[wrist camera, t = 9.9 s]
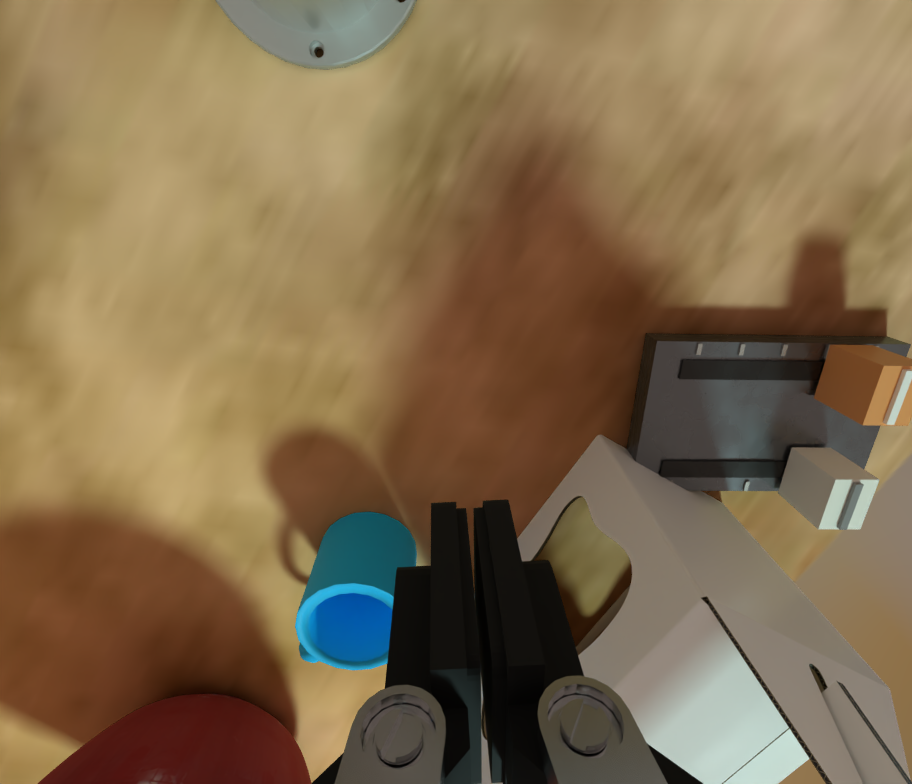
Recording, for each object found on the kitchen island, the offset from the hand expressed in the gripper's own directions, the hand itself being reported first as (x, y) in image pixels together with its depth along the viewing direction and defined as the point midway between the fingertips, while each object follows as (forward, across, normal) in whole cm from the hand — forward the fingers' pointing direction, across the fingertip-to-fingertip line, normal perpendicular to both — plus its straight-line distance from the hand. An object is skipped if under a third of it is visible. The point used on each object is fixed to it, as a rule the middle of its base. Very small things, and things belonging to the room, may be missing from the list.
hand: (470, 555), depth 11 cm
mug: (+26, +9, +23) cm, 36 cm away
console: (+25, -23, +10) cm, 36 cm away
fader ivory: (+23, -27, +14) cm, 38 cm away
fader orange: (+23, -28, +6) cm, 37 cm away
